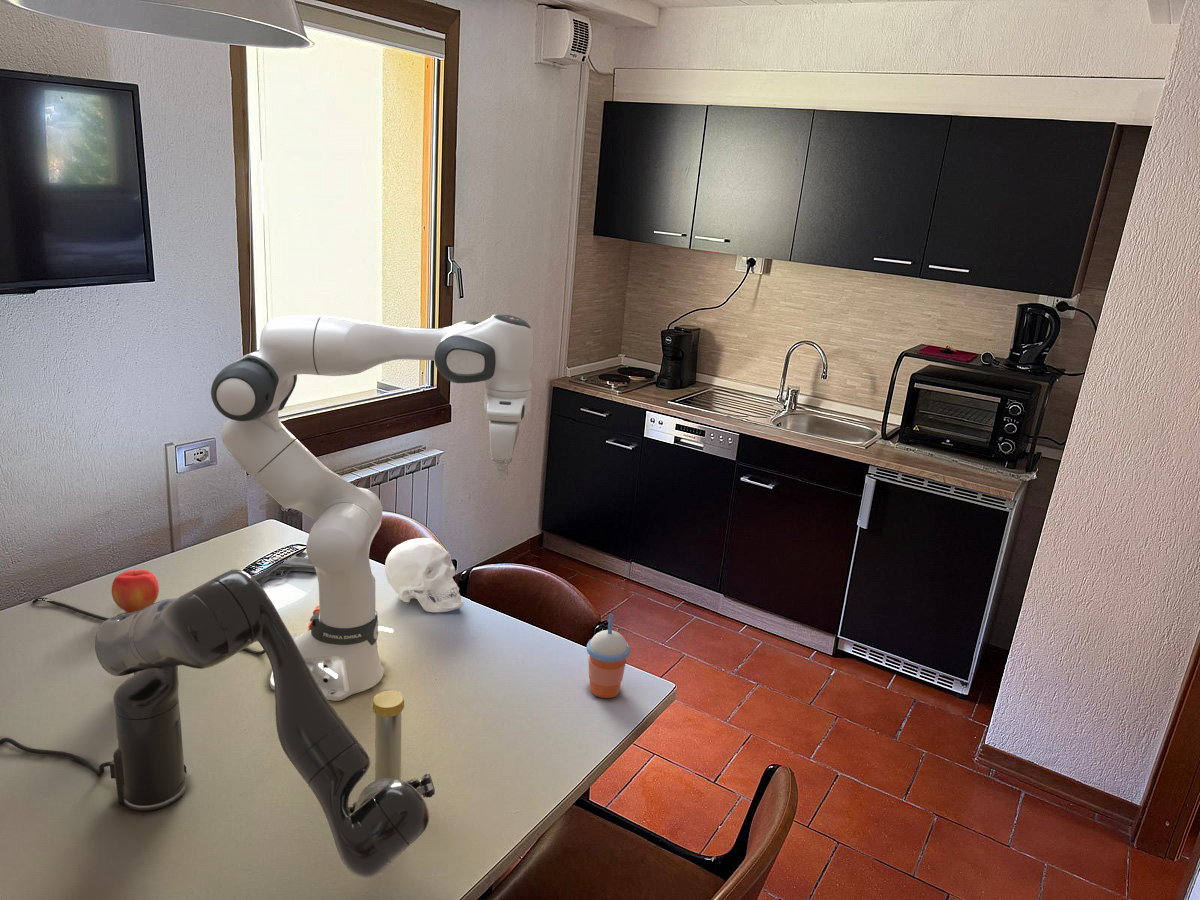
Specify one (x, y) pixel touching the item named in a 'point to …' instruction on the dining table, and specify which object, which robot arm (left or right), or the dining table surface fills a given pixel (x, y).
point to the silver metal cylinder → (388, 747)
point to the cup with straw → (607, 661)
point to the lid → (388, 703)
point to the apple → (135, 590)
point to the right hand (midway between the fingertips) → (504, 470)
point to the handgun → (286, 568)
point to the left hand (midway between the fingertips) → (385, 798)
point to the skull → (423, 575)
